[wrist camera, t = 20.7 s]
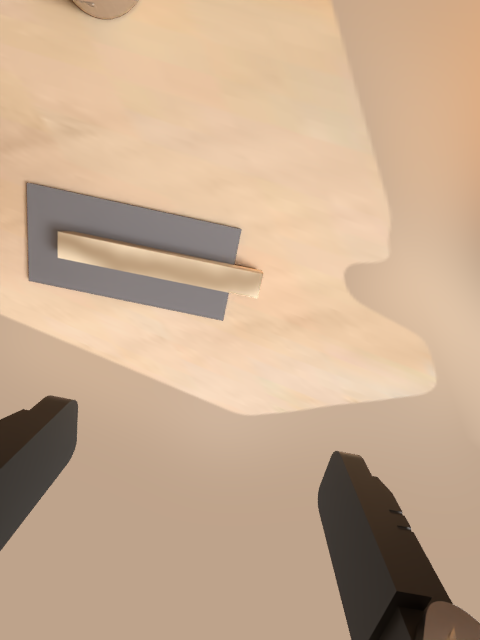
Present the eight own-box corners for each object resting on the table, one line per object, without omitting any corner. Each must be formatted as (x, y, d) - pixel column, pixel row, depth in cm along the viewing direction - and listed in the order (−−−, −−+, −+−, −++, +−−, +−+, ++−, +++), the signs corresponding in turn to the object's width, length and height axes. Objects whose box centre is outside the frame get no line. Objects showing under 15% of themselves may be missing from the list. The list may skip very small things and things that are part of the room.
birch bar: (73, 231, 35) (57, 231, 33) (261, 270, 36) (263, 274, 33) (72, 255, 36) (57, 257, 33) (256, 293, 37) (257, 298, 34)
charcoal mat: (31, 183, 35) (26, 182, 34) (241, 229, 36) (241, 229, 35) (33, 279, 38) (28, 280, 37) (223, 318, 39) (223, 320, 38)
